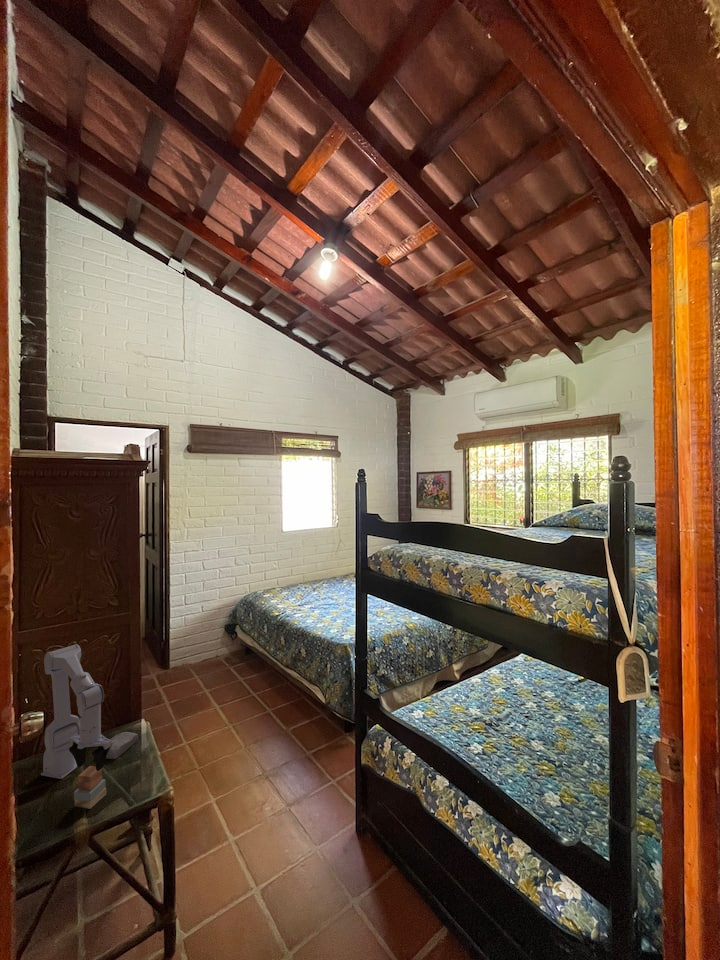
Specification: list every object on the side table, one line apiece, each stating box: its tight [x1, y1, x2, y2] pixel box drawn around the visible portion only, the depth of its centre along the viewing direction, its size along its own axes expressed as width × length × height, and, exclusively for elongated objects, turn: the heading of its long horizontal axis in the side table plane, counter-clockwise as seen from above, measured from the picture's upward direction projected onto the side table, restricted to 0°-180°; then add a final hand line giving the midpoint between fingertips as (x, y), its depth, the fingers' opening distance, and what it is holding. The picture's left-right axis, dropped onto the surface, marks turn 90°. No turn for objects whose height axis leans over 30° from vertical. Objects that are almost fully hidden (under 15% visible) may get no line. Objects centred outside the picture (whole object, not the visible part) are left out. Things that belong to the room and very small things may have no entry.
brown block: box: [74, 787, 107, 810], centre depth 127 cm, size 6×6×2 cm
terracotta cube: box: [77, 765, 103, 791], centre depth 128 cm, size 4×4×4 cm
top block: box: [73, 778, 107, 801], centre depth 127 cm, size 6×6×2 cm
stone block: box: [106, 731, 139, 760], centre depth 153 cm, size 12×5×10 cm
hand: (90, 767), depth 128 cm, fingers open, 7 cm apart
